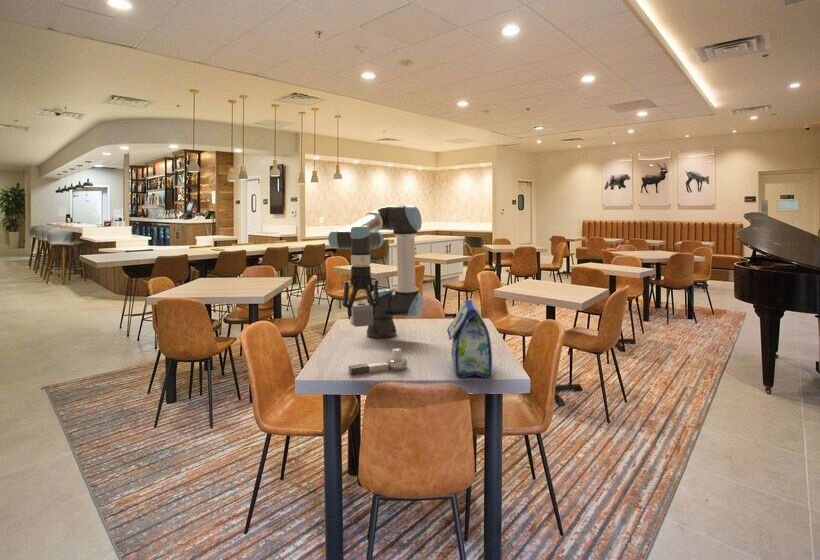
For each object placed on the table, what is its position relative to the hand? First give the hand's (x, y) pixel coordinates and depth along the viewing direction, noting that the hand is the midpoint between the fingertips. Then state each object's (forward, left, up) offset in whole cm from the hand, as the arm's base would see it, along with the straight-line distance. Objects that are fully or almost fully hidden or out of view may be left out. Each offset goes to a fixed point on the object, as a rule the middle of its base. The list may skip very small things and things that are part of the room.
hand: (361, 323), depth 189 cm
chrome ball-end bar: (+9, +4, -17) cm, 19 cm away
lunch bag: (+22, +37, -17) cm, 46 cm away
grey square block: (0, 0, 0) cm, 0 cm away
